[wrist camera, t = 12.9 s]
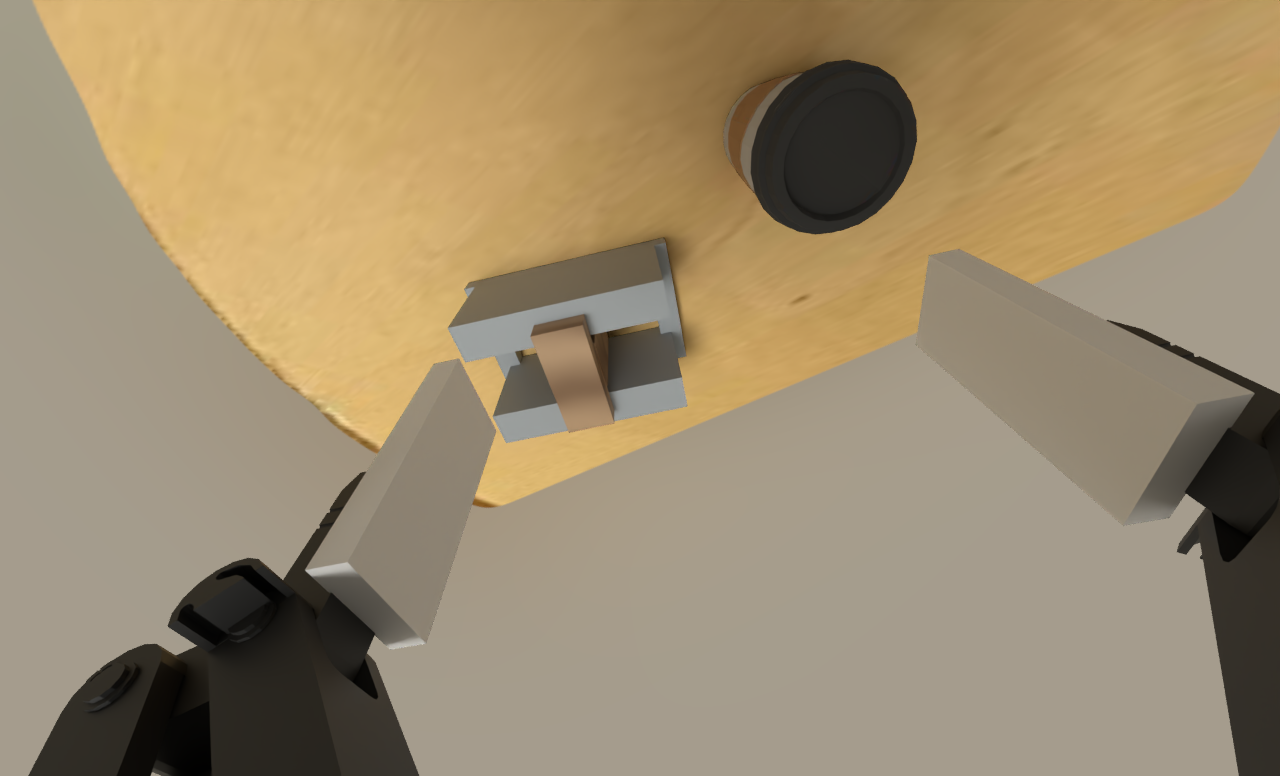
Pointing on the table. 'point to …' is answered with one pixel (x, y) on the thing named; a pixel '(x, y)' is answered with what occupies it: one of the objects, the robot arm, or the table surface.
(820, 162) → the coffee cup
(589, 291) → the slot stand
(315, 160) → the table surface
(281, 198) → the table surface
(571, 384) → the wooden t-shaped block
